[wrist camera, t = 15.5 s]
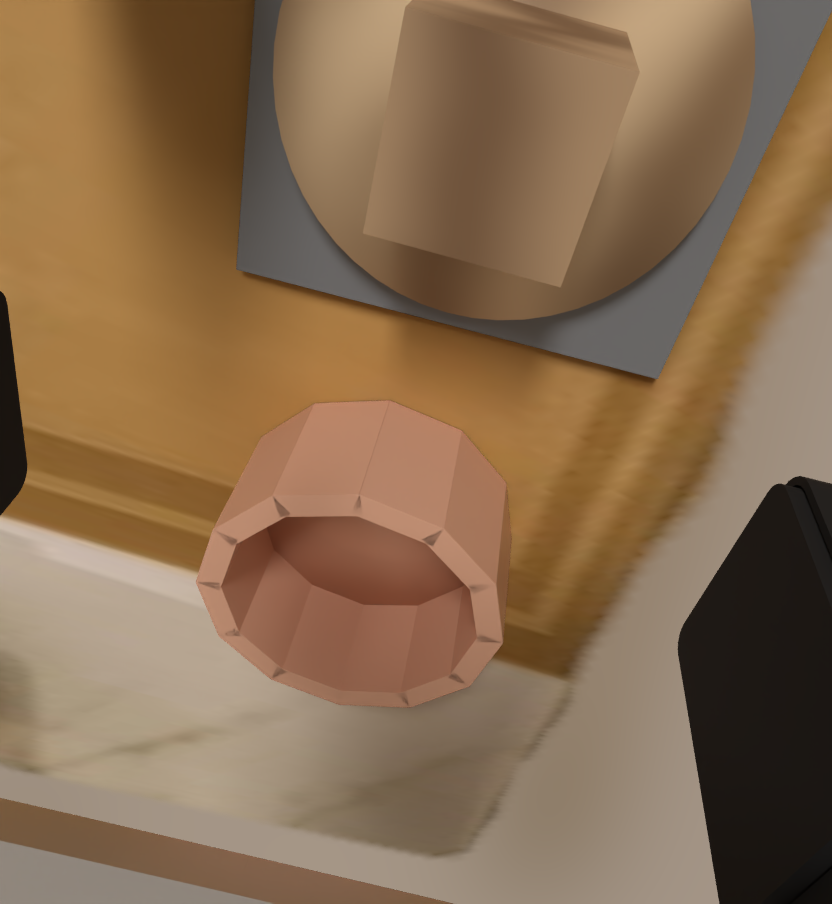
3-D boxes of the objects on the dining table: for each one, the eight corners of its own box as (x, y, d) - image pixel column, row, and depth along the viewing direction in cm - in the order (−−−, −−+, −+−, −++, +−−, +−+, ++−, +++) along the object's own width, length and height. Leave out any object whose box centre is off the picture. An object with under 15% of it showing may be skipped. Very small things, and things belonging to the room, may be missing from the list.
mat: (656, 370, 30) (657, 379, 29) (241, 262, 30) (236, 269, 29) (902, -156, 20) (910, -157, 20) (284, -319, 20) (277, -324, 19)
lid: (848, -112, 20) (934, -100, 16) (636, 350, 29) (650, 449, 24) (315, -263, 20) (237, -297, 15) (261, 248, 29) (201, 327, 24)
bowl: (362, 632, 41) (336, 733, 37) (196, 478, 37) (140, 571, 32) (561, 548, 36) (560, 654, 31) (395, 352, 31) (364, 442, 26)
